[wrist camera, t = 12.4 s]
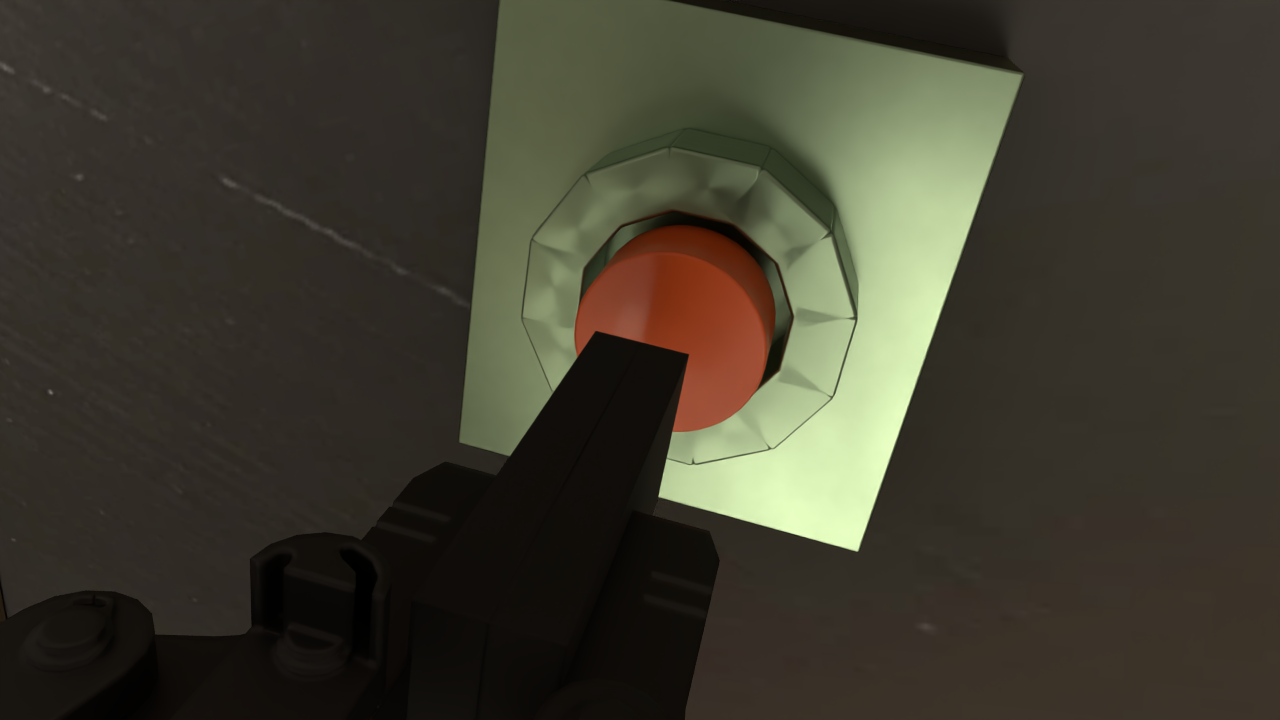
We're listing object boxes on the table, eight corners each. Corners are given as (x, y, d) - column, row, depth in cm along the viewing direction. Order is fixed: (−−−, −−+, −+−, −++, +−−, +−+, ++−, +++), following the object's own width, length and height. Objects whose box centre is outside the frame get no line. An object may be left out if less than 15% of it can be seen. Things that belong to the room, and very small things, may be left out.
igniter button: (753, 412, 19) (743, 453, 17) (586, 368, 19) (561, 405, 18) (795, 248, 17) (788, 278, 16) (612, 205, 18) (587, 231, 16)
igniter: (860, 502, 23) (858, 604, 20) (489, 403, 25) (426, 481, 21) (1009, 57, 18) (1042, 87, 15) (537, -38, 20) (464, -32, 16)
